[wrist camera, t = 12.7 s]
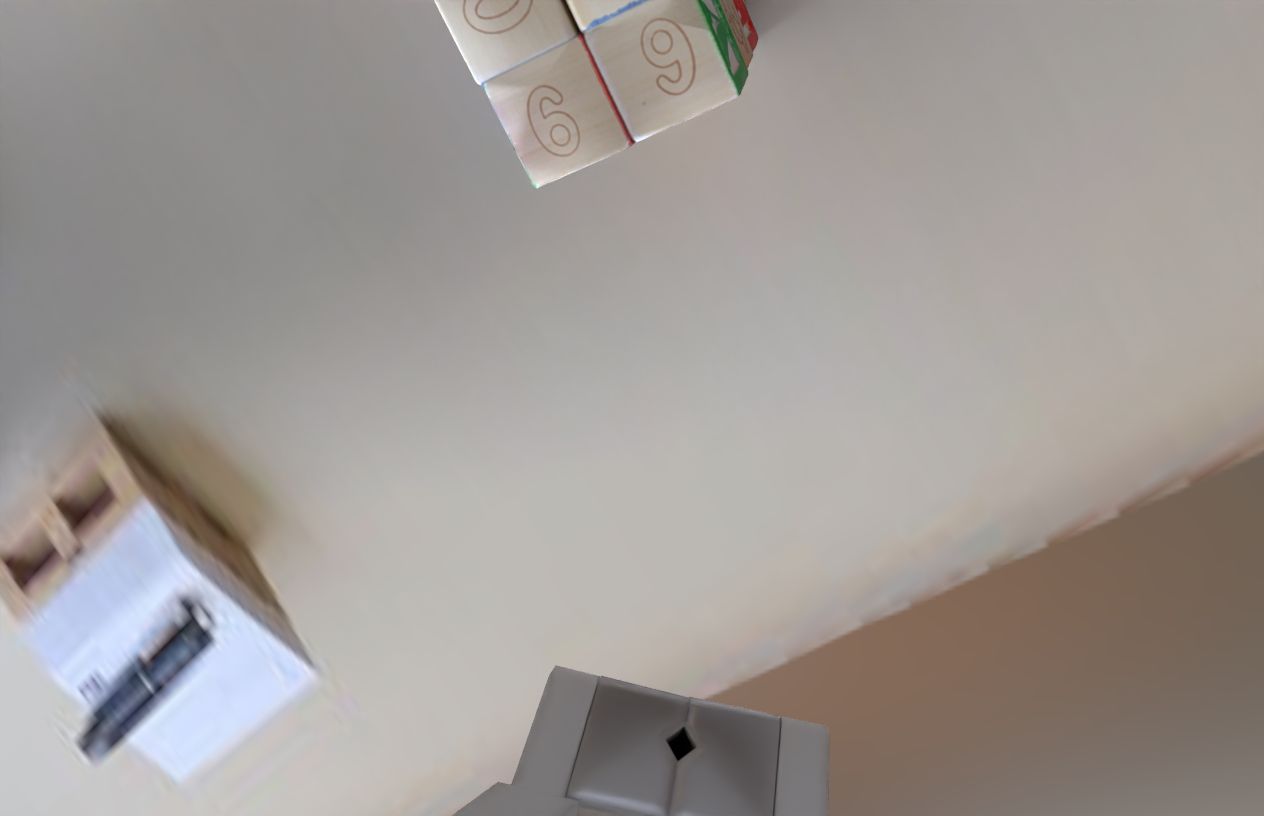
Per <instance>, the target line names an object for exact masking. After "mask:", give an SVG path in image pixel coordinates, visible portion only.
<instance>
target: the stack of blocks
mask: <svg viewBox="0 0 1264 816" xmlns="http://www.w3.org/2000/svg"><path fill="white" fill-rule="evenodd" d="M434 1H435V3H436V5H437V7H438V9H439V11H440V13H441V15H442V17H443V19H444V21H445V23H446V25H447V27H448V29H449V31H450V33H451V34H452V36H453V38H454V40H455V42H456V44H457V46H458V48H459V50H460V52H461V54H462V56H463V58H464V60H465V62H466V64H467V65H468V67H469V69H470V71H471V73H472V75H473V77H474V79H475V81H476V82H477V83H478V84H479V85H482V86H483V87H484V88H485V91H486V93H487V96H488V98H489V100H490V102H491V104H492V106H493V108H494V110H495V112H496V114H497V116H498V118H499V120H500V122H501V124H502V126H503V128H504V130H505V131H506V134H507V136H508V138H509V140H510V142H511V144H512V146H513V148H514V150H515V151H516V153H517V155H518V157H519V159H520V161H521V163H522V165H523V167H524V169H525V171H526V173H527V175H528V177H529V179H530V181H531V183H532V184H533V186H534V187H535V188H539V187H541V186H543V185H546V184H548V183H550V182H552V181H555V180H557V179H559V178H562V177H564V176H566V175H568V174H571V173H573V172H575V171H577V170H579V169H582V168H584V167H586V166H588V165H590V164H593V163H595V162H597V161H600V160H602V159H605V158H607V157H609V156H611V155H613V154H616V153H618V152H620V151H622V150H625V149H627V148H629V147H630V146H632V145H633V144H634V143H635V142H638V141H640V140H643V139H645V138H647V137H650V136H652V135H654V134H657V133H659V132H662V131H664V130H666V129H668V128H671V127H673V126H675V125H677V124H680V123H682V122H684V121H686V120H688V119H690V118H693V117H695V116H697V115H699V114H702V113H704V112H707V111H708V110H710V109H712V108H715V107H717V106H720V105H722V104H724V103H727V102H729V101H731V100H733V99H735V98H737V97H738V96H739V95H740V94H741V91H742V89H743V87H744V84H745V82H746V79H747V76H748V69H747V68H748V66H749V63H750V61H751V59H752V57H753V53H752V52H753V51H754V49H755V47H756V45H757V41H758V36H757V33H756V30H755V28H754V26H753V23H752V21H751V19H750V16H749V14H748V11H747V9H746V6H745V4H744V2H743V0H434Z"/></svg>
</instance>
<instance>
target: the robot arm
mask: <svg viewBox="0 0 1264 816" xmlns="http://www.w3.org/2000/svg"><path fill="white" fill-rule="evenodd" d="M829 759H830V733H829V731H828V728H827V726H823V725H819V724H814V723H810V722H805V721H801V720H795V719H791V718H786V717H782V716H781V717H780V718H779V717H778V715H773V714H769V713H764V712H759V711H754V710H750V709H745V708H740V707H736V706H731V705H726V704H721V703H716V702H712V701H707V700H702V699H698V698H693V697H689V698H688V697H684V696H680V695H676V694H672V693H668V692H664V691H660V690H656V689H652V688H648V687H644V686H640V685H636V684H632V683H628V682H624V681H620V680H616V679H612V678H608V677H604V676H601V678H600V676H597V675H593V674H589V673H584V672H580V671H576V670H572V669H568V668H564V667H560V666H555V667H554V669H553V671H552V672H551V674H550V675H549V677H548V680H547V683H546V686H545V689H544V692H543V695H542V698H541V701H540V703H539V706H538V709H537V712H536V715H535V718H534V721H533V724H532V726H531V729H530V732H529V735H528V738H527V741H526V744H525V747H524V750H523V752H522V755H521V758H520V761H519V764H518V767H517V770H516V773H515V776H514V778H513V781H512V784H511V785H510V784H505V783H500V782H497V783H496V784H494V785H493V786H492V787H490V788H489V789H488V790H486V791H485V792H484V793H482V794H481V795H479V796H478V797H477V798H475V799H474V800H473V801H471V802H470V803H468V804H467V805H466V806H464V807H463V808H462V809H460V810H459V811H458V812H456V813H455V814H453V815H452V816H828V811H829V809H828V808H829Z"/></svg>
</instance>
